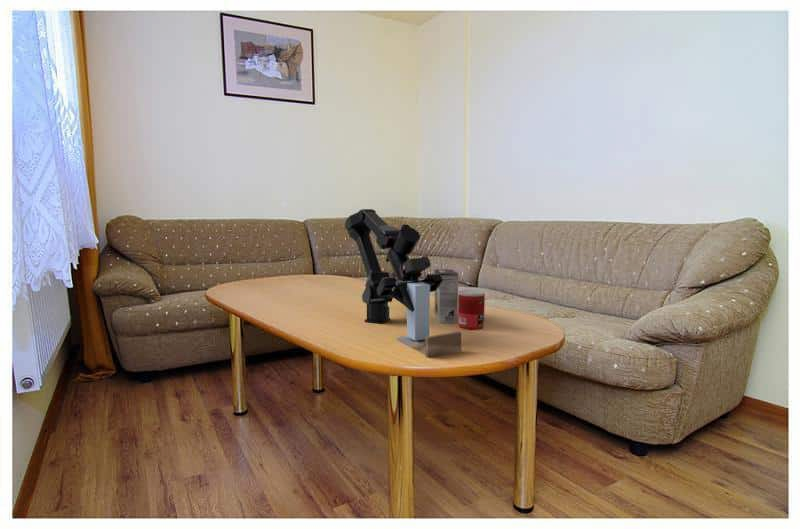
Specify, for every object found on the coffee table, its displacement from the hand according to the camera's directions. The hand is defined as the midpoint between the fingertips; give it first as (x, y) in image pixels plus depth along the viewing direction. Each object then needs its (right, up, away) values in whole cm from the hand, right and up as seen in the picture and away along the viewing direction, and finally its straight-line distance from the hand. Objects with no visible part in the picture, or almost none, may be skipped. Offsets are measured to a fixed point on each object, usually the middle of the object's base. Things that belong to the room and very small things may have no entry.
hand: (420, 309), depth 127 cm
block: (-1, -8, +2) cm, 8 cm away
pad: (-1, -9, +2) cm, 9 cm away
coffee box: (+9, -6, +27) cm, 29 cm away
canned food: (+16, -7, +17) cm, 25 cm away
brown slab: (+3, -10, -5) cm, 12 cm away
